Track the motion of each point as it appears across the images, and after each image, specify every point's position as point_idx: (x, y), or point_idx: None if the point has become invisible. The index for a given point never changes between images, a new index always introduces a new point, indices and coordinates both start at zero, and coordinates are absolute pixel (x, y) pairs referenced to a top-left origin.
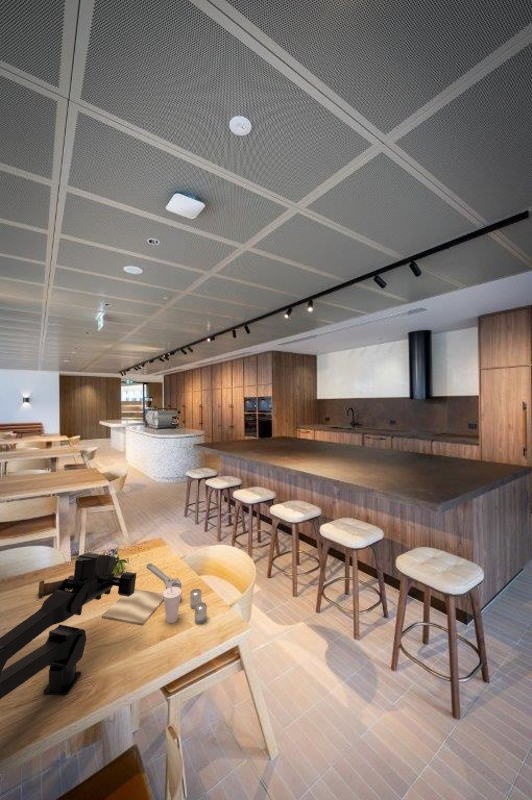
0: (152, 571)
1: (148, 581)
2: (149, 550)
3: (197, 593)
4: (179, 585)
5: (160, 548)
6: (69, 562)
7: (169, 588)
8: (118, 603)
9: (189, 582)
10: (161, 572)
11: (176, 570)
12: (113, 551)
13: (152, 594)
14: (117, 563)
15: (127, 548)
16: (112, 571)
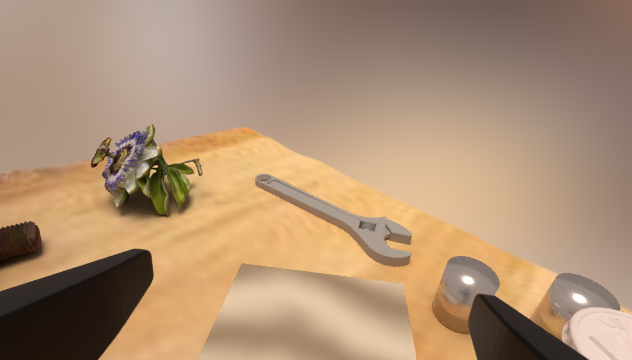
0: (282, 196)
1: (288, 229)
2: (239, 144)
3: (603, 300)
4: (472, 258)
5: (264, 140)
6: (5, 174)
7: (583, 325)
8: (218, 355)
9: (423, 227)
10: (315, 199)
11: (349, 191)
12: (139, 138)
13: (346, 288)
14: (163, 175)
15: (179, 140)
16: (147, 272)
